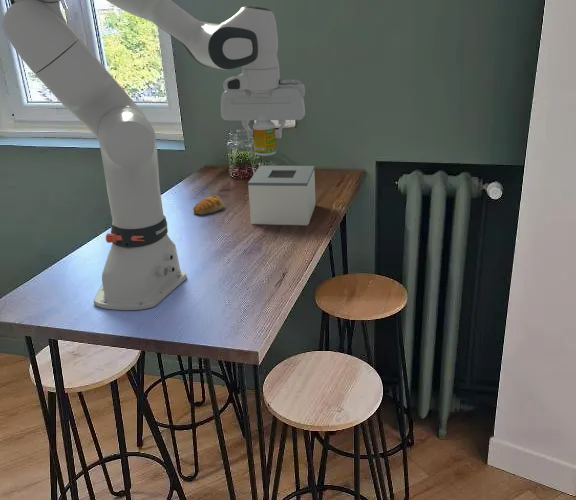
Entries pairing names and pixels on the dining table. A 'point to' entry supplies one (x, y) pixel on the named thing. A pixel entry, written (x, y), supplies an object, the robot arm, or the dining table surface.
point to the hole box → (282, 195)
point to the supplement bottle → (264, 137)
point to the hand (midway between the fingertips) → (264, 137)
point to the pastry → (208, 205)
